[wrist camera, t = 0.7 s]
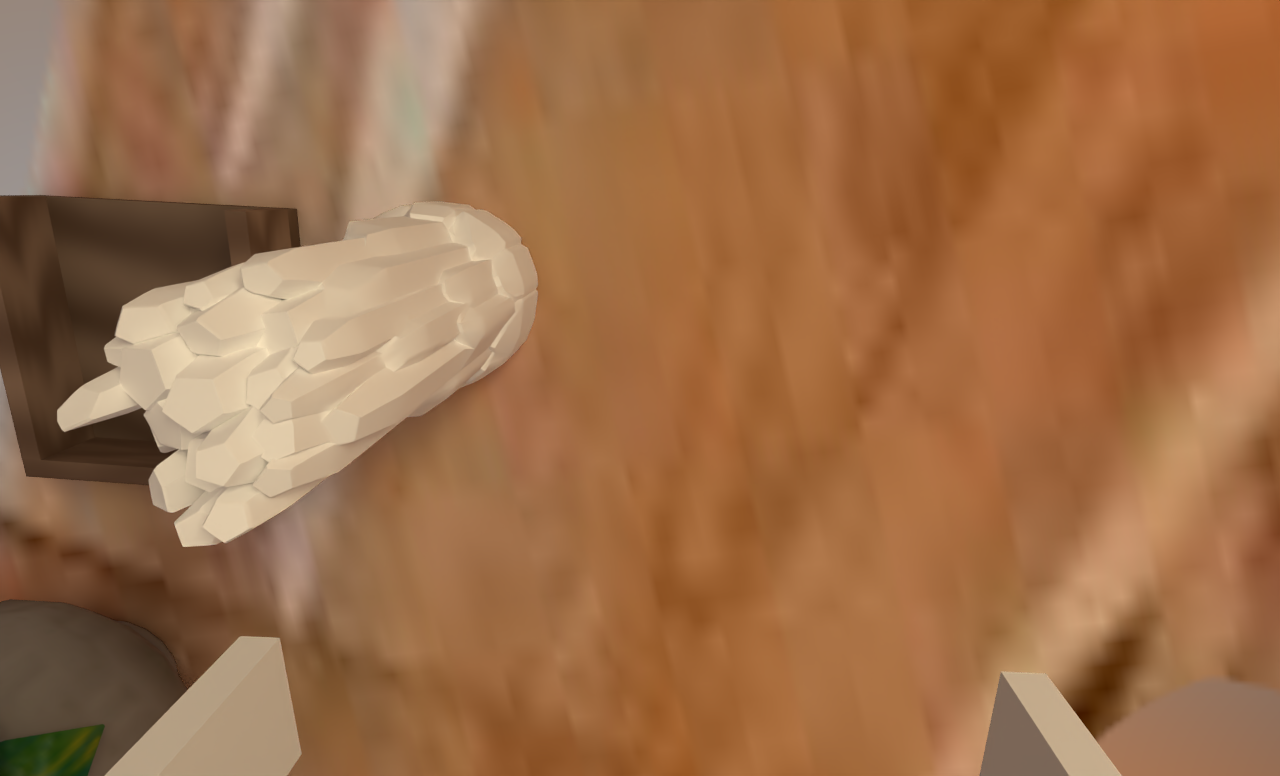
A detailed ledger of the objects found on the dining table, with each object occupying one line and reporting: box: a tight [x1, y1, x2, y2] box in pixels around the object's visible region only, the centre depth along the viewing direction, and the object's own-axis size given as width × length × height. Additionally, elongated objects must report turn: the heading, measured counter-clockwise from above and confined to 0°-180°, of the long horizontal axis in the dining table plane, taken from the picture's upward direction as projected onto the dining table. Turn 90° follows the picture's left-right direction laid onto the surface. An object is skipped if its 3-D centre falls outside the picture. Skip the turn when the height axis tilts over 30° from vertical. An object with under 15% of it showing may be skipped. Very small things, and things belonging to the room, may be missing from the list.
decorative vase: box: [57, 201, 538, 547], centre depth 30 cm, size 11×11×25 cm
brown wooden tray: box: [0, 195, 300, 485], centre depth 41 cm, size 17×16×5 cm
